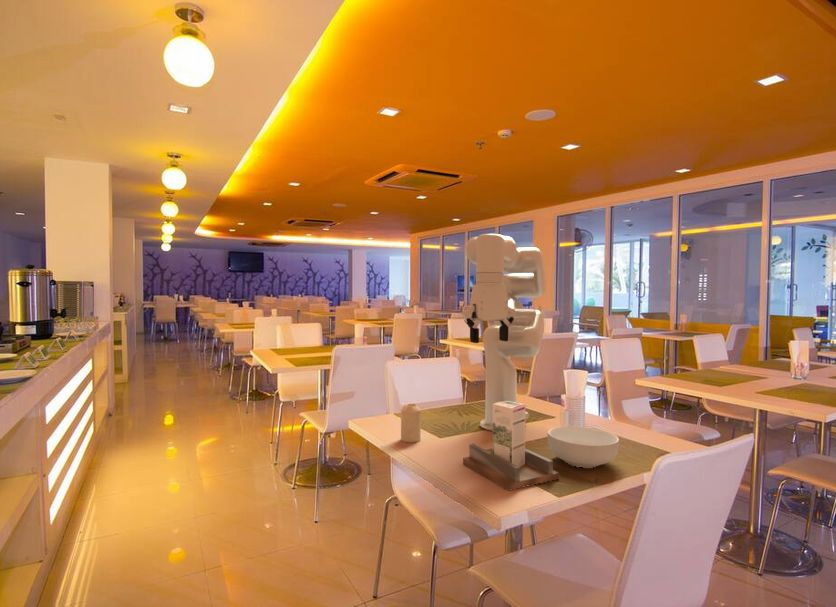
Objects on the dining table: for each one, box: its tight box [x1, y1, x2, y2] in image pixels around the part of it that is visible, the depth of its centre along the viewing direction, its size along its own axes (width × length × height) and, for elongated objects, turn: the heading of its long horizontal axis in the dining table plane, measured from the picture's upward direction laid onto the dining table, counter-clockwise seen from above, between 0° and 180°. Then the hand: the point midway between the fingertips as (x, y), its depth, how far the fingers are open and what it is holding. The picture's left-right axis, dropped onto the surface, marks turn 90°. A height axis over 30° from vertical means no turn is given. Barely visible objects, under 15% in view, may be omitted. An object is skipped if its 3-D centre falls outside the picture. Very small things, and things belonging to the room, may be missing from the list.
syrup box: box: [491, 401, 526, 467], centre depth 117 cm, size 6×6×14 cm
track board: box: [462, 443, 560, 491], centre depth 117 cm, size 14×18×4 cm
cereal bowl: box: [547, 426, 620, 469], centre depth 123 cm, size 17×17×7 cm
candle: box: [400, 403, 422, 444], centre depth 141 cm, size 6×6×10 cm
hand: (489, 341), depth 137 cm, fingers open, 9 cm apart
